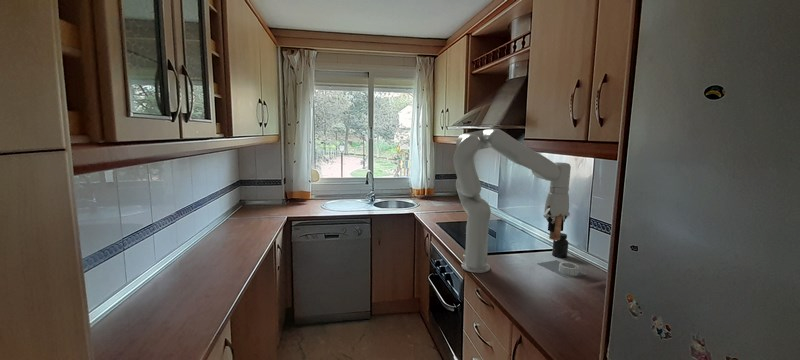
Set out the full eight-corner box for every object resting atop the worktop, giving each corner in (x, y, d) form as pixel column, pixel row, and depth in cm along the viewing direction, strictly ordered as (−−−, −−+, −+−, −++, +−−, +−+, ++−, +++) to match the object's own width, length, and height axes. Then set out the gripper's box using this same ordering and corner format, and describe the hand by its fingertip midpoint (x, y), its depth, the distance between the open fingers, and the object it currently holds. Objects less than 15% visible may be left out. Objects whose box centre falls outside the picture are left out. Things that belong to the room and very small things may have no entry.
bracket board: (536, 265, 160) (537, 257, 160) (556, 262, 165) (556, 254, 164) (566, 280, 145) (567, 271, 144) (587, 276, 149) (588, 267, 149)
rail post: (547, 237, 158) (549, 211, 156) (554, 236, 160) (556, 211, 158) (554, 240, 154) (557, 214, 152) (562, 239, 156) (564, 213, 154)
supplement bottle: (549, 257, 171) (550, 233, 170) (556, 254, 175) (558, 231, 174) (562, 261, 166) (564, 237, 164) (569, 258, 170) (571, 234, 168)
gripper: (566, 188, 160) (562, 227, 163) (537, 189, 154) (534, 230, 157) (580, 191, 154) (576, 231, 156) (550, 192, 147) (547, 234, 150)
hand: (555, 230), depth 156 cm, fingers closed on rail post, 4 cm apart
